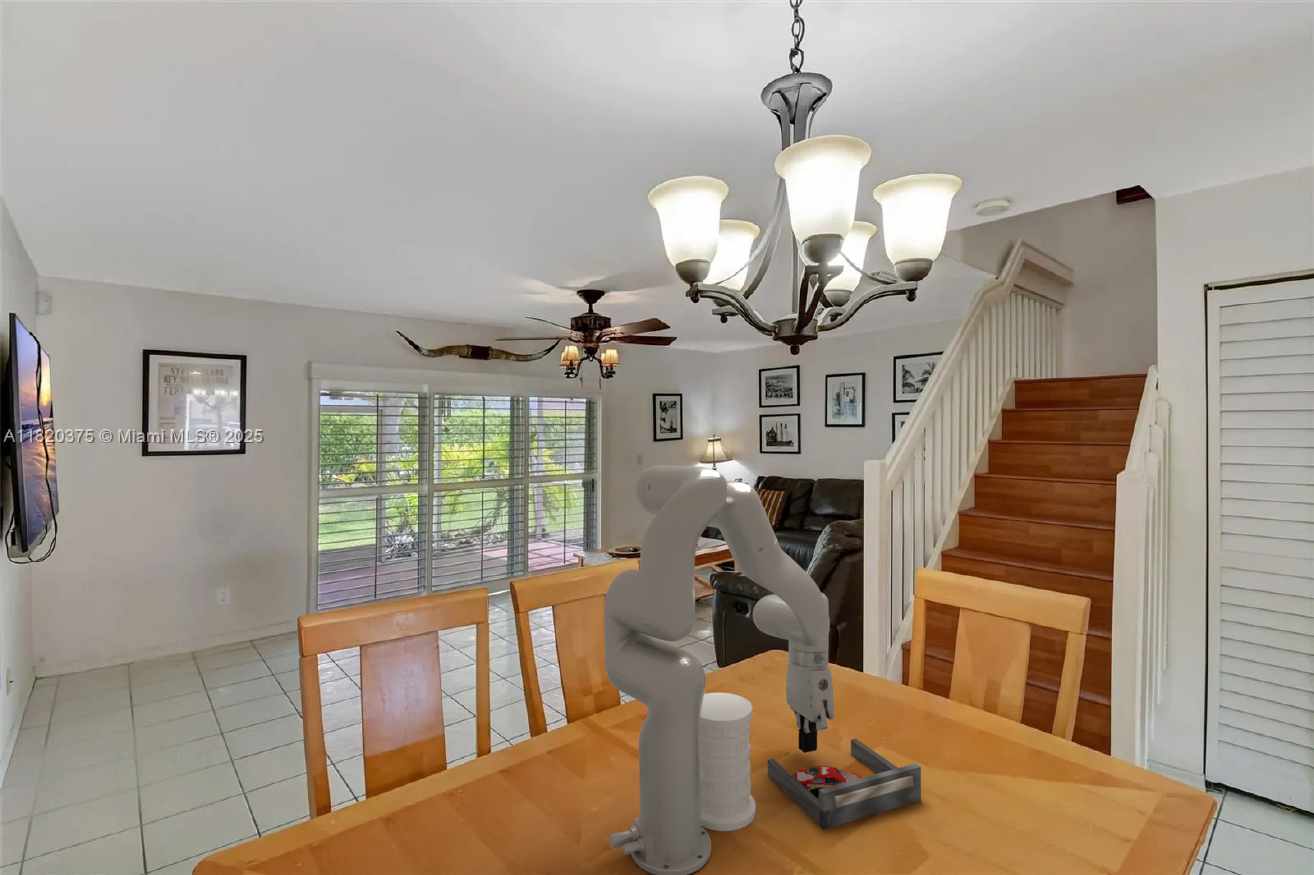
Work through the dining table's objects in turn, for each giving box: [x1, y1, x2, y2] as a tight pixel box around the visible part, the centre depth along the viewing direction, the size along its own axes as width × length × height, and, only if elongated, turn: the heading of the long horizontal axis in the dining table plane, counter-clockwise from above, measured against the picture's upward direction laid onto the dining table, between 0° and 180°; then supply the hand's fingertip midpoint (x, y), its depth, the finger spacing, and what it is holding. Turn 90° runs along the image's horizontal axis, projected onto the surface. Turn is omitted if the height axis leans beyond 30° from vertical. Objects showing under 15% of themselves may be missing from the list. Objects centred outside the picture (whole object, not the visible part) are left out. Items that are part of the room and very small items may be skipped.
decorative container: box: [700, 692, 757, 832], centre depth 107 cm, size 12×12×18 cm
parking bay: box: [767, 738, 922, 830], centre depth 113 cm, size 20×18×6 cm
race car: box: [793, 765, 863, 799], centre depth 112 cm, size 13×5×4 cm, turn 87°
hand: (807, 749), depth 122 cm, fingers closed
